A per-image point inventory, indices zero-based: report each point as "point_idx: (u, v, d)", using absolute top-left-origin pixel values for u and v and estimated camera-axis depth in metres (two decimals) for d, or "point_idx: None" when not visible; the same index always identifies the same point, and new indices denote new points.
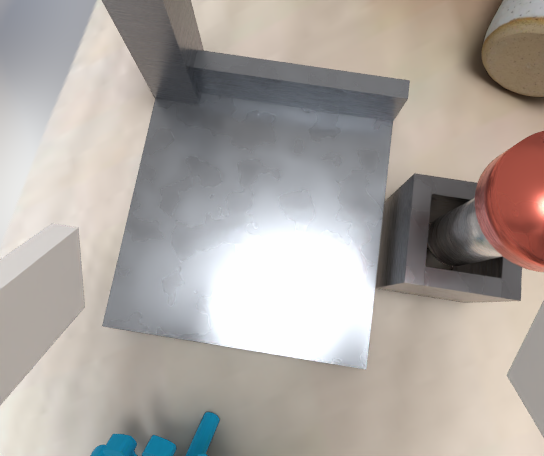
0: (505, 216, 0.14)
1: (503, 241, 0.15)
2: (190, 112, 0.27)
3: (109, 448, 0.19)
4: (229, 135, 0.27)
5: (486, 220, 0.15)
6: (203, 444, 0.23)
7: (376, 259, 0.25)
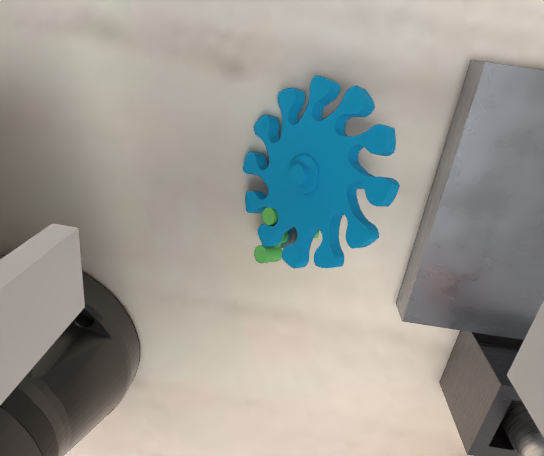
0: None
1: None
2: None
3: (386, 134, 0.18)
4: None
5: None
6: None
7: (502, 335, 0.27)
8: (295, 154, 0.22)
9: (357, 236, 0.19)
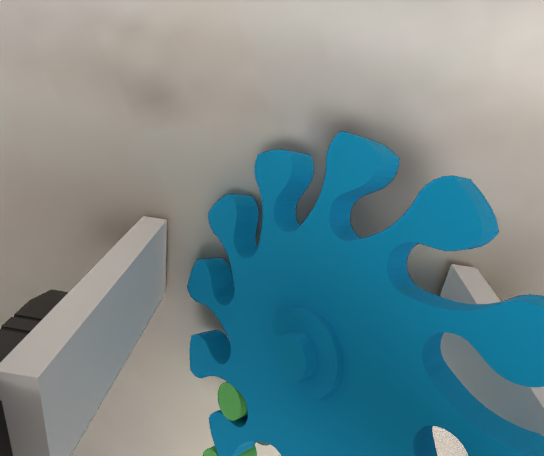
0: None
1: None
2: None
3: None
4: None
5: None
6: None
7: None
8: (287, 298, 0.10)
9: None
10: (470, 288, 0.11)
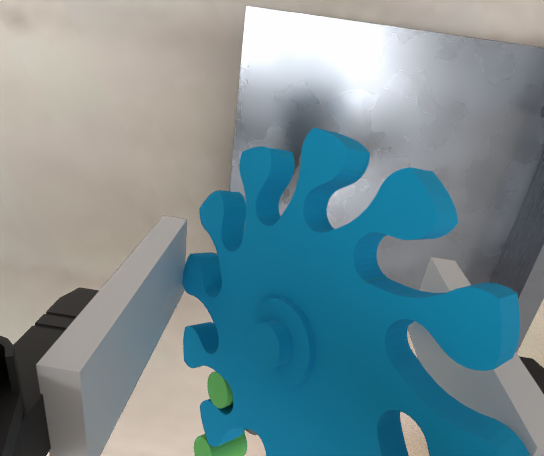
0: None
1: None
2: (531, 104, 0.20)
3: (503, 323, 0.06)
4: (486, 157, 0.21)
5: None
6: None
7: None
8: (268, 289, 0.10)
9: None
10: (446, 279, 0.11)
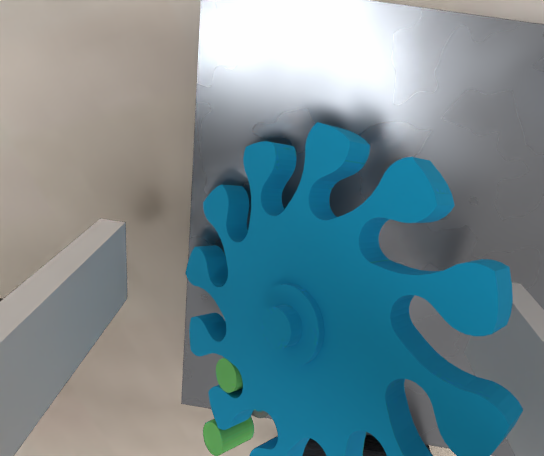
0: None
1: None
2: None
3: (499, 293, 0.07)
4: None
5: None
6: None
7: None
8: (275, 275, 0.11)
9: None
10: (519, 307, 0.10)
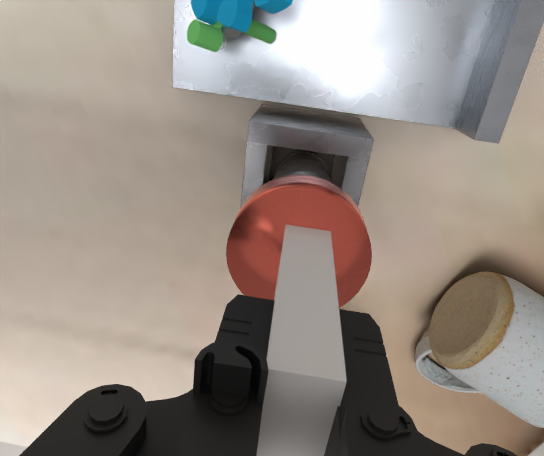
0: (275, 195, 0.13)
1: (255, 195, 0.14)
2: None
3: None
4: None
5: (279, 182, 0.14)
6: None
7: (288, 102, 0.23)
8: None
9: None
10: (310, 246, 0.12)
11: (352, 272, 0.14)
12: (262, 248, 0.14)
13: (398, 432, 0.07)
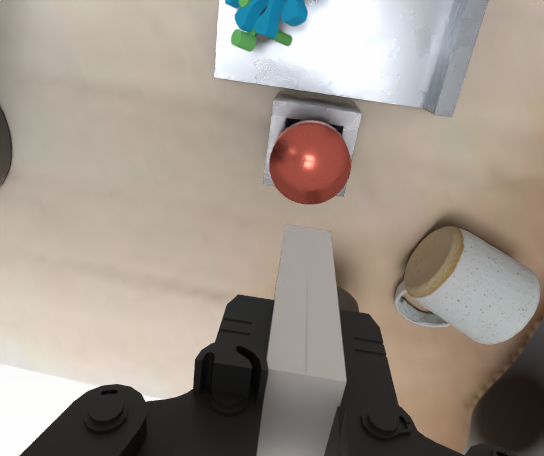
0: (297, 128, 0.24)
1: (286, 130, 0.25)
2: None
3: None
4: None
5: (299, 123, 0.25)
6: None
7: (300, 88, 0.31)
8: None
9: None
10: (311, 246, 0.12)
11: (340, 174, 0.25)
12: (289, 159, 0.25)
13: (399, 433, 0.07)
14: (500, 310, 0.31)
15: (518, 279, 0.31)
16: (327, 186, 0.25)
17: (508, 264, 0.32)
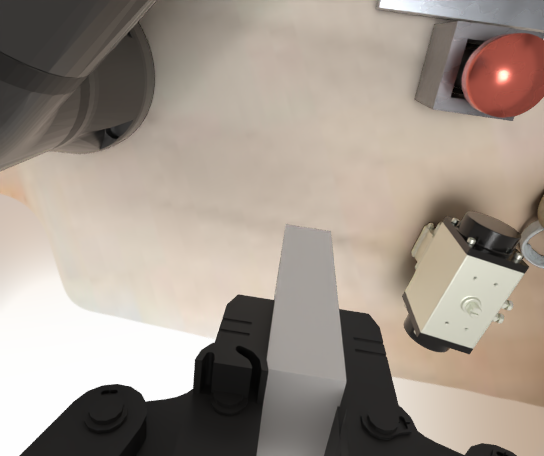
0: (507, 37, 0.25)
1: (488, 42, 0.26)
2: None
3: None
4: None
5: (502, 35, 0.26)
6: None
7: (464, 17, 0.31)
8: None
9: None
10: (310, 246, 0.12)
11: (541, 85, 0.26)
12: (493, 70, 0.26)
13: (398, 432, 0.07)
14: None
15: None
16: (525, 98, 0.26)
17: None
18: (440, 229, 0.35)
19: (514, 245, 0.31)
